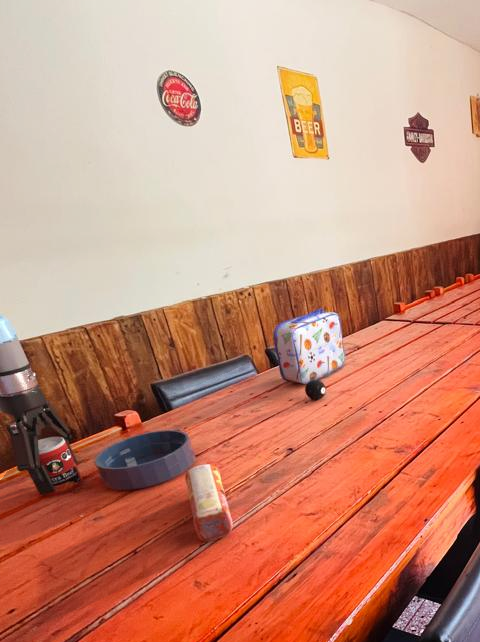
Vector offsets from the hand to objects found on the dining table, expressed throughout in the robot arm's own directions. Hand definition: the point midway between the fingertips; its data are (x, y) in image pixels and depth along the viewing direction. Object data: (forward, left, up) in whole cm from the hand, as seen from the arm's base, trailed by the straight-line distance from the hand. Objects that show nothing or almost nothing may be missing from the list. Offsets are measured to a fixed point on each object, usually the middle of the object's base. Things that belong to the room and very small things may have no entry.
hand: (60, 478), depth 117 cm
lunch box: (+24, +76, -2) cm, 80 cm away
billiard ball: (+35, +55, -2) cm, 65 cm away
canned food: (0, 0, -2) cm, 2 cm away
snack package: (+44, -5, -2) cm, 44 cm away
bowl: (+16, +9, -2) cm, 18 cm away
